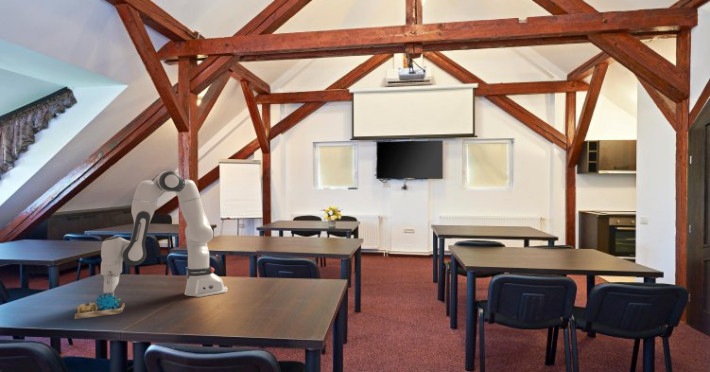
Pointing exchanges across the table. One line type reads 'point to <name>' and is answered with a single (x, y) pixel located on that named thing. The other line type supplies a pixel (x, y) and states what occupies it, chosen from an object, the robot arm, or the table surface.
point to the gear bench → (100, 312)
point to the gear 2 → (107, 302)
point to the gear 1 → (87, 307)
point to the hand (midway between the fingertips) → (111, 298)
